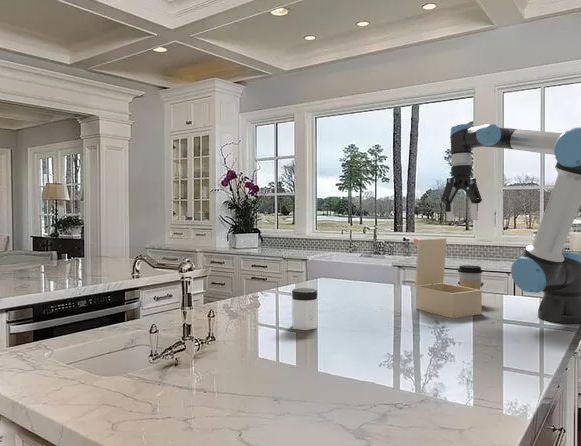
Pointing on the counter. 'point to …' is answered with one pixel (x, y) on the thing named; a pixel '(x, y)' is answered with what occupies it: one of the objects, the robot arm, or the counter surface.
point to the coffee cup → (470, 276)
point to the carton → (449, 300)
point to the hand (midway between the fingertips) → (462, 220)
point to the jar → (304, 309)
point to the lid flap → (430, 260)
